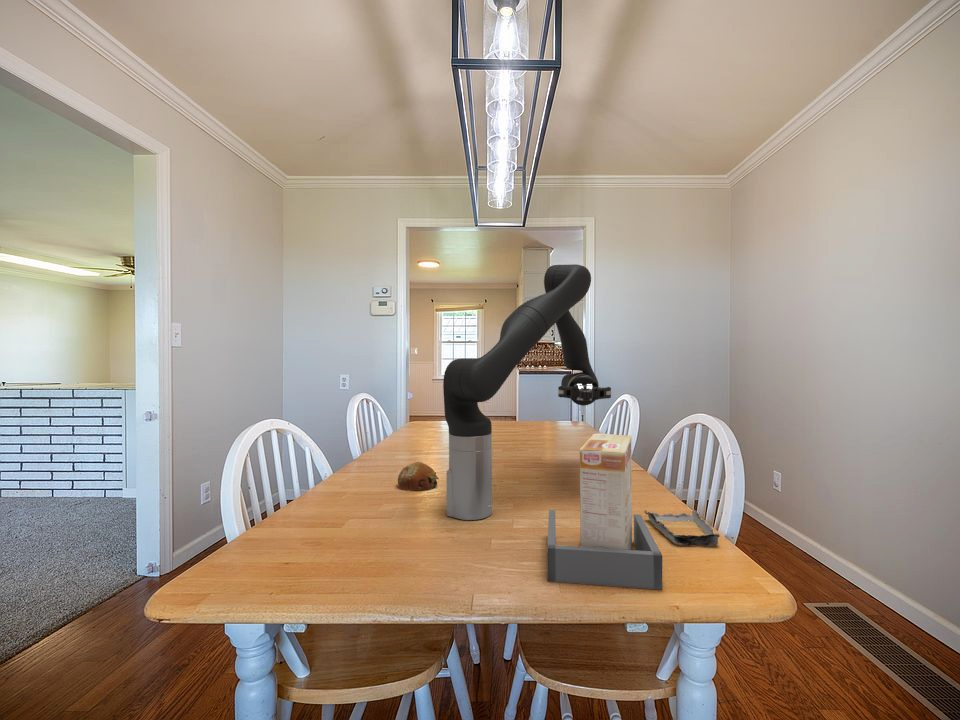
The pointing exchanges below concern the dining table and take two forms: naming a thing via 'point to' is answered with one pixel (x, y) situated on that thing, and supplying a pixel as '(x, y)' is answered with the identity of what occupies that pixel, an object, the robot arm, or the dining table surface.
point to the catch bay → (606, 561)
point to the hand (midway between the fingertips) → (586, 395)
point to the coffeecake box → (606, 492)
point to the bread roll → (417, 477)
